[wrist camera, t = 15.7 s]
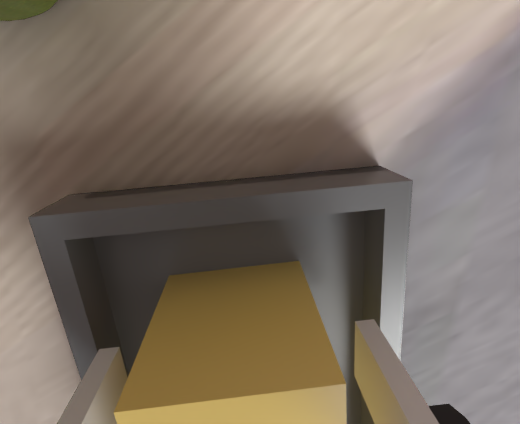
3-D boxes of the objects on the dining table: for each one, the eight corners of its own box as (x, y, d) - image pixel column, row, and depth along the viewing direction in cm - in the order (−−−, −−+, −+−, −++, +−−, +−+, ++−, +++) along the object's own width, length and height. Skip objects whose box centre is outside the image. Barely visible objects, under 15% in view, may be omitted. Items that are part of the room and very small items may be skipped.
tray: (161, 525, 22) (149, 588, 19) (69, 194, 15) (28, 217, 12) (367, 499, 22) (386, 557, 19) (379, 166, 15) (412, 180, 12)
